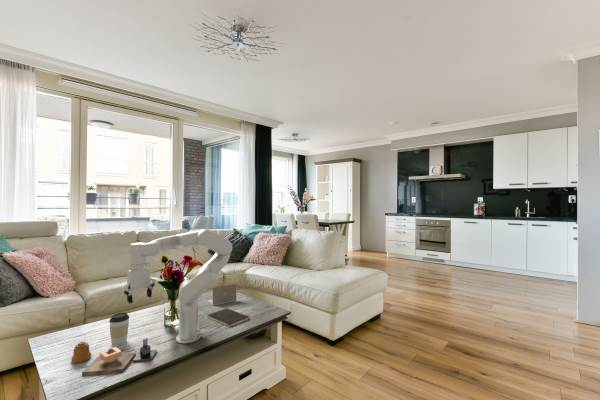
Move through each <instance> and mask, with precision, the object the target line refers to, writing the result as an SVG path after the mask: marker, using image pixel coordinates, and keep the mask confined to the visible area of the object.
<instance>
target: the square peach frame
mask: <svg viewBox="0 0 600 400" xmlns="http://www.w3.org/2000/svg"><path fill="white" fill-rule="evenodd" d="M109 349H110V348H108V349H106V350H103V351H100V352H99V355H100V359H102V360H103V361H104V362H105V363H106V362H109V361H111V360H114V359H116V358H119V357H121V354H122V350H120V348H118V347H117V346H113V347H112V349H113V353H111V354H108V350H109Z"/></svg>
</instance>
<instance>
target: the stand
mask: <svg viewBox="0 0 600 400" xmlns="http://www.w3.org/2000/svg"><path fill="white" fill-rule="evenodd" d="M148 341H149V339H148V338H147V337H146V338H143V339H142V346H141V347H140V348H139V351H138V353H136V356H135V357H134V359H133V360H132V363H141V362H151V361H152V360H153V359H154V357H155V356H156V354H157V353H158V350H157V349H153V350H152V349H151V345H148V343H149V342H148Z"/></svg>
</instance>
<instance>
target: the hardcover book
mask: <svg viewBox="0 0 600 400" xmlns="http://www.w3.org/2000/svg"><path fill="white" fill-rule="evenodd" d="M206 316H207V318H208V319H210V320H212V321H215V322H217V323H219V324H221V325H224V326H226V327H229V328H231V327H233V326H235V325H238V324H240V323H243V322H245V321H248V320H250V316H249V315H247V314H243V313H241V312H238V311H235V310H232V309H231V308H227V307H226V308H223V309H220V310H217V311H215V312H211V313H208V314H207V315H206Z"/></svg>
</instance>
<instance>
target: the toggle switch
mask: <svg viewBox="0 0 600 400" xmlns="http://www.w3.org/2000/svg"><path fill="white" fill-rule="evenodd" d="M112 348H113V347H112ZM112 348H111V347H110V348H108V349H109V350H108V349H107V350H108V354H111V353H113V349H112ZM136 355H137V352H126V353H125V352H124V353H121V357H119V358H116V359H114V360H111V361H109V362H106V363H105V362H104V361H103V360H102V359H100V354H99V355H98V356H97V357H96V358H95V359H94V360H93V361H92V362H91V363H90V364H88V366H87V367H86V368H85V369H84V370H82V371H81V376H82V377H85V376H95V375H108V374H119V373H123V372H124V371H125V370H126V369H127V368H128V366H129V365H130V364H131V363H132V362H133V359H134V358H135V357H136Z"/></svg>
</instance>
